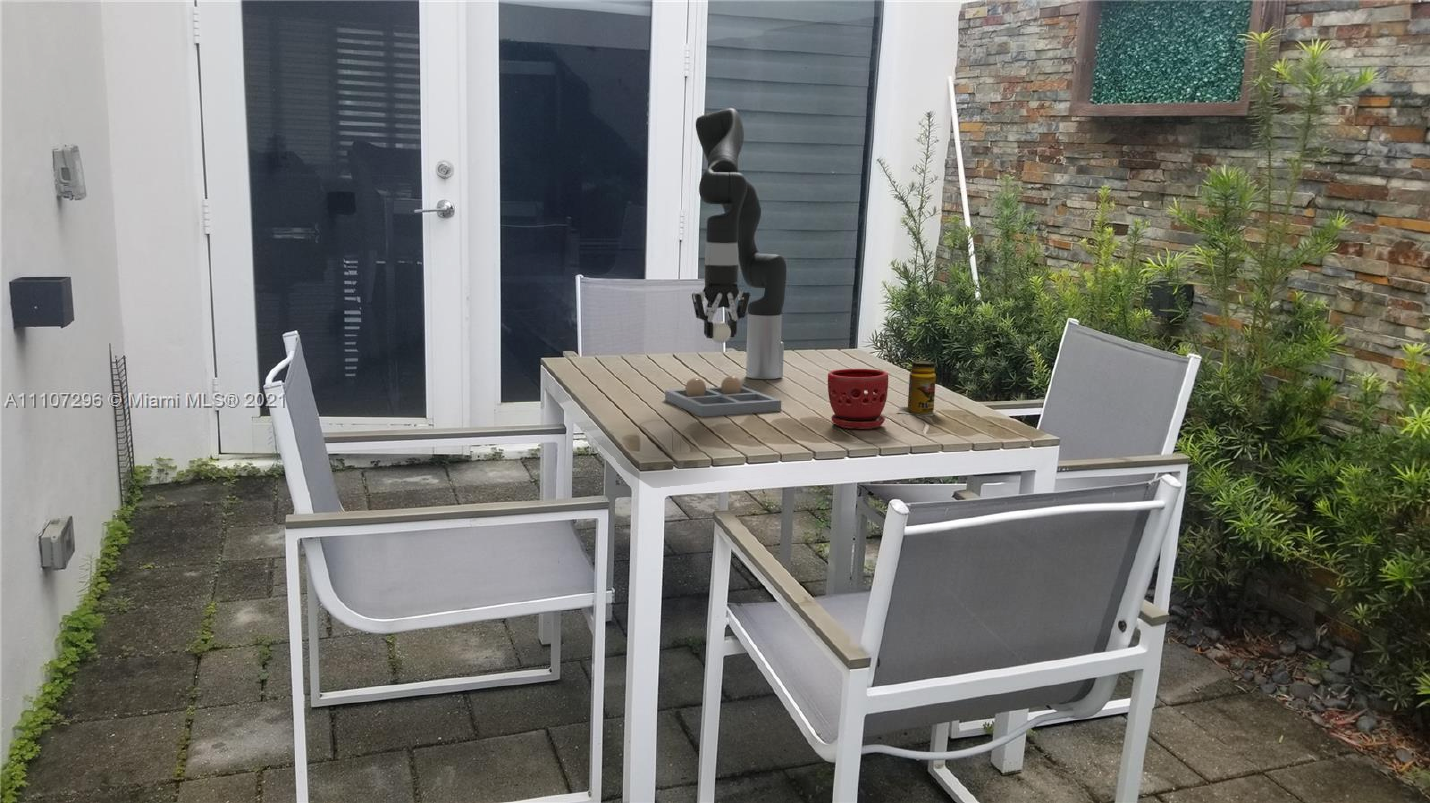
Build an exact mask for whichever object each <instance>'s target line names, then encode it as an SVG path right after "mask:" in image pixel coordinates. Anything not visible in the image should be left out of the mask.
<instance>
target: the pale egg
mask: <svg viewBox="0 0 1430 803" xmlns="http://www.w3.org/2000/svg"><path fill="white" fill-rule="evenodd" d="M730 336H731V329H730V327H729V325H728V322H725V321H721V320H720V321H716V322H713V338H710V339H711V340H712V341H713V342H714V343H717V344H724V343H726V342H727V341H729V340H730V339H731V337H730Z"/></svg>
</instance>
